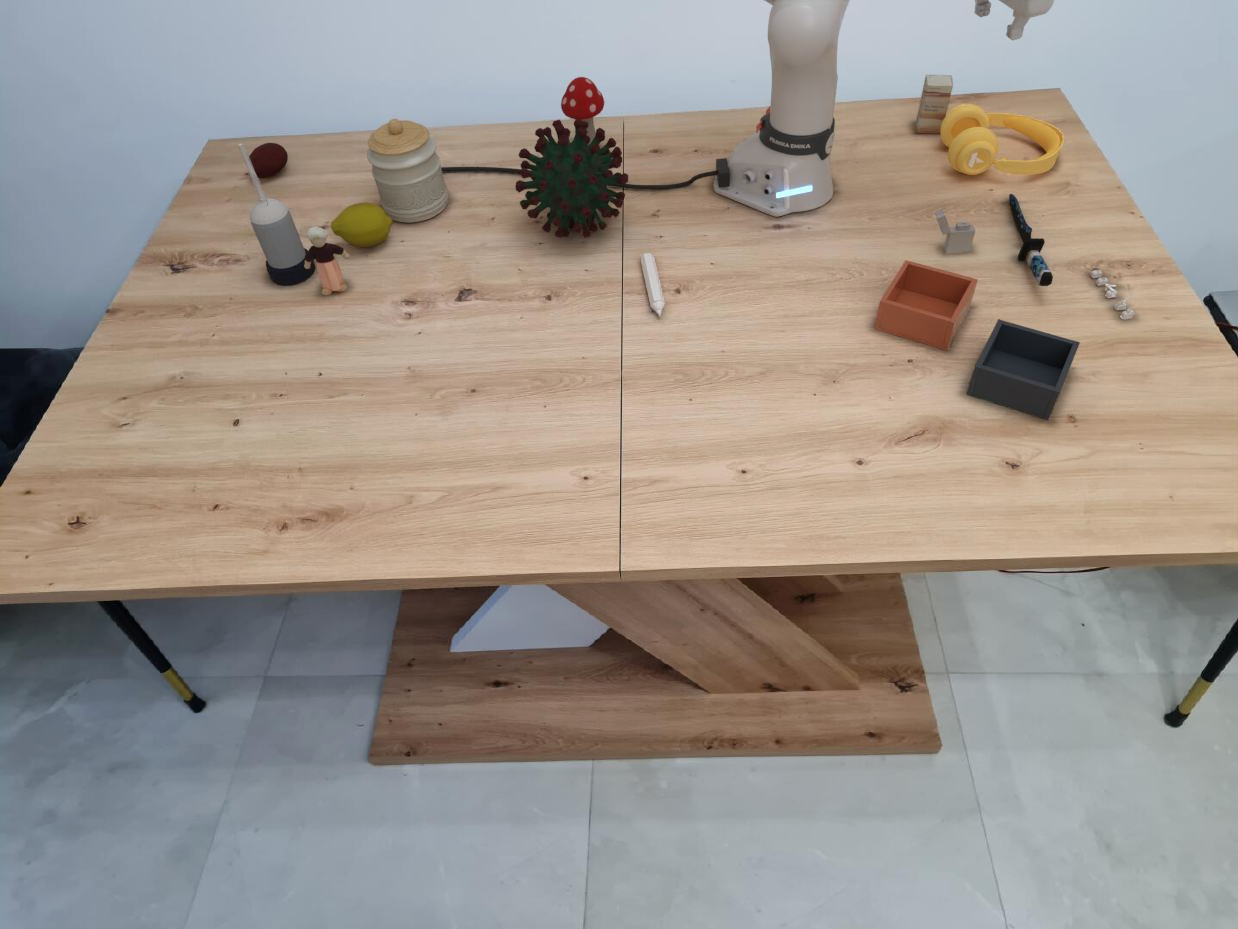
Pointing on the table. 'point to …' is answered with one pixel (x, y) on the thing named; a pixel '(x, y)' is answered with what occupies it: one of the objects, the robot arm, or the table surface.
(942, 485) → the table surface
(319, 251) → the grandmother figurine
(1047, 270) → the knife
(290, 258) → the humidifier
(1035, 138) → the headset
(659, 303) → the marker
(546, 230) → the virus model
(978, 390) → the grey bin
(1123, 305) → the figurines set
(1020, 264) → the table surface
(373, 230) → the lemon
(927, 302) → the terracotta bin
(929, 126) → the beige brown box
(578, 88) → the decorative mushroom
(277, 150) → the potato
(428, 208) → the jar
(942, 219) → the lighter
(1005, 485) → the table surface
